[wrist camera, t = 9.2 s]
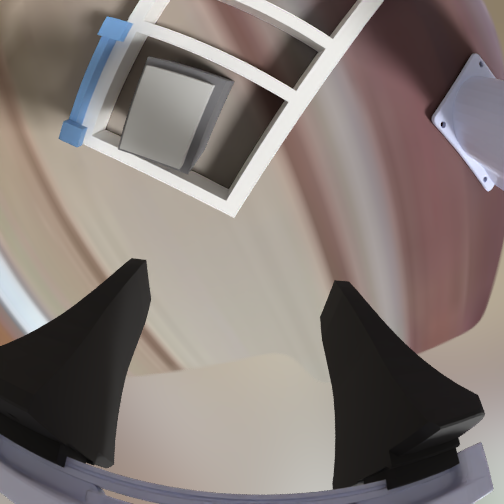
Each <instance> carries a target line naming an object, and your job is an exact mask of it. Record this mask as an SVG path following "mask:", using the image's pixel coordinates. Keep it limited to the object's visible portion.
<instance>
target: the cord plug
mask: <svg viewBox="0 0 504 504" xmlns="http://www.w3.org/2000/svg"><path fill="white" fill-rule="evenodd" d="M234 82H235V81H232V80H229V79H227V78H224V77H221V76H218V75H215V74H213V73H210V72H207V71H204V70H201V69H198V68H195V67H191V66H188V65H185V64H182V63H178V62H174V61H169V60H165V59H159V58H154V57H149V56H148V58H147V61H146V63H145V66H144V68H143V71H142V74H141V76H140V79H139V82H138V84H137V87H136V90H135V93H134V96H133V99H132V102H131V105H130V108H129V111H128V115H127V118H126V121H125V125H124V128H123V132H122V135H121V139H120V143H119V146H118V150H121V151H124V152H127V153H130V154H133V155H136V156H138V157H141V158H144V159H147V160H150V161H153V162H155V163H158V164H161V165H164V166H167V167H169V168H172V169H175V170H177V171H180V172H183V173H186V174H189V172H190V171H191V169H192V168H193V166H194V165H195V163H196V162H197V160H198V159H199V157H200V156H201V154H202V153H203V151H204V150H205V148H206V145H207V143H208V140H209V138H210V135H211V133H212V131H213V128H214V126H215V124H216V121H217V119H218V117H219V114H220V112H221V110H222V108H223V105H224V103H225V101H226V99H227V97H228V94H229V92H230V90H231V88H232V86H233V84H234Z"/></svg>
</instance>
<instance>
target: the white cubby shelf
mask: <svg viewBox="0 0 504 504" xmlns="http://www.w3.org/2000/svg"><path fill="white" fill-rule="evenodd" d="M169 1H170V0H140V1H139V2H138V4H137V5H136V7H135V9H134V10H133V12H132V14H131V15H130V17H129V19H128V21H123V20H119V19H116V18H112V17H108V16H107V17H106V19H105V21H104V23H103V24H102V26H101V28H100V30H99V32H98V34H97V35H100V36H102V37H101V39H100V41H99V43H98V45H97V47H96V50H95V52H94V54H93V56H92V58H91V61H90V63H89V65H88V68H87V70H86V72H85V75H84V77H83V80H82V83H81V85H80V88H79V91H78V93H77V96H76V99H75V102H74V105H73V108H72V111H71V114H70V117H69V120H66V121H64V122H63V125H62V129H61V132H60V136H59V139H60V140H62V141H64V142H66V143H69V144H71V145H73V146H75V147H79V146H81V145H82V144H84V145H86V146H88V147H90V148H92V149H95V150H97V151H99V152H101V153H103V154H105V155H107V156H109V157H112V158H114V159H116V160H118V161H120V162H122V163H124V164H126V165H128V166H130V167H133V168H135V169H137V170H139V171H141V172H143V173H145V174H147V175H149V176H151V177H153V178H155V179H157V180H159V181H161V182H163V183H165V184H167V185H170V186H172V187H174V188H176V189H178V190H180V191H182V192H184V193H186V194H188V195H190V196H192V197H194V198H196V199H198V200H200V201H202V202H204V203H206V204H208V205H210V206H212V207H214V208H216V209H218V210H220V211H222V212H223V213H225V214H227V215H229V216H231V217H233V218H234V217H235V216H236V214H237V212H238V211H239V209H240V208H241V206H242V204H243V203H244V201H245V200H246V198H247V197H248V195H249V193H250V192H251V190H252V189H253V187H254V186H255V184H256V183H257V181H258V179H259V178H260V176H261V175H262V173H263V172H264V170H265V169H266V167H267V166H268V164H269V162H270V161H271V159H272V158H273V156H274V155H275V153H276V152H277V150H278V149H279V147H280V146H281V144H282V143H283V141H284V140H285V138H286V137H287V135H288V134H289V132H290V131H291V129H292V128H293V126H294V125H295V123H296V122H297V120H298V119H299V117H300V116H301V114H302V113H303V112H304V110H305V109H306V107H307V106H308V104H309V103H310V101H311V100H312V98H313V97H314V96H315V94H316V93H317V91H318V90H319V88H320V87H321V85H322V84H323V83H324V81H325V80H326V78H327V77H328V76H329V74H330V73H331V71H332V70H333V68H334V67H335V66H336V64H337V63H338V61H339V60H340V59H341V57H342V56H343V55H344V53H345V52H346V50H347V49H348V48H349V46H350V45H351V44H352V42H353V41H354V39H355V38H356V37H357V35H358V34H359V33H360V31H361V30H362V29H363V27H364V26H365V25H366V23H367V22H368V21H369V19H370V18H371V17H372V15H373V14H374V13H375V11H376V10H377V9H378V8H379V6H380V5H381V4H382V2H383V1H384V0H357V1H356V3H355V4H354V5H353V6H352V8H351V9H350V10H349V11H348V13H347V14H346V15H345V17H344V18H343V19H342V21H341V22H340V23H339V25H338V26H337V27H336V29H335V30H334V31H333V33H332V34H331V35H330V37H329V36H328V35H326V34H324V33H323V32H321V31H320V30H318V29H317V28H315V27H313V26H312V25H310V24H308V23H307V22H305V21H303V20H301V19H300V18H298V17H296V16H294V15H293V14H291V13H289V12H287V11H285V10H283V9H281V8H279V7H278V6H276V5H274V4H272V3H270V2H267V1H265V0H218V1H220V2H223V3H225V4H228V5H230V6H233V7H235V8H237V9H240V10H242V11H244V12H246V13H248V14H251V15H253V16H255V17H257V18H259V19H261V20H263V21H265V22H267V23H269V24H271V25H273V26H275V27H277V28H278V29H280V30H282V31H284V32H286V33H288V34H289V35H291V36H293V37H295V38H296V39H298V40H300V41H301V42H303V43H305V44H306V45H308V46H310V47H311V48H313V49H314V50H316V51H317V52H318V53H317V55H316V56H315V57H314V59H313V60H312V62H311V63H310V64H309V66H308V67H307V69H306V70H305V72H304V73H303V74H302V76H301V77H300V79H299V80H298V82H297V83H296V85H295V86H294V87H293V89H292V88H290V87H289V86H287V85H285V84H284V83H282V82H280V81H279V80H277V79H275V78H273V77H272V76H270V75H268V74H266V73H264V72H263V71H261V70H259V69H257V68H255V67H253V66H251V65H250V64H248V63H246V62H244V61H242V60H240V59H238V58H236V57H234V56H232V55H229V54H227V53H225V52H223V51H221V50H219V49H217V48H214V47H212V46H210V45H208V44H205V43H203V42H201V41H198V40H196V39H193V38H191V37H188V36H186V35H183V34H181V33H178V32H175V31H172V30H170V29H167V28H164V27H161V26H158V25H155V23H156V22H157V20H158V18H159V17H160V15H161V13H162V12H163V10H164V9H165V7H166V6H167V4H168V3H169ZM148 36H150V37H153V38H156V39H159V40H161V41H164V42H167V43H169V44H172V45H175V46H177V47H180V48H182V49H185V50H187V51H189V52H192V53H194V54H196V55H199V56H201V57H203V58H206V59H208V60H210V61H212V62H214V63H216V64H219V65H221V66H223V67H225V68H227V69H229V70H231V71H233V72H235V73H237V74H239V75H241V76H243V77H245V78H247V79H249V80H250V81H252V82H254V83H256V84H258V85H260V86H261V87H263V88H265V89H267V90H269V91H270V92H272V93H274V94H276V95H277V96H279V97H281V98H282V99H284V100H285V101H284V102H283V104H282V105H281V107H280V108H279V110H278V111H277V113H276V114H275V116H274V118H273V119H272V121H271V122H270V124H269V125H268V127H267V128H266V130H265V131H264V133H263V135H262V136H261V138H260V139H259V141H258V142H257V144H256V146H255V147H254V149H253V150H252V152H251V154H250V155H249V157H248V158H247V160H246V162H245V163H244V165H243V167H242V168H241V170H240V171H239V173H238V175H237V176H236V178H235V180H234V181H233V183H232V185H231V186H230V188H229V189H227V188H225V187H223V186H221V185H219V184H218V183H216V182H214V181H212V180H210V179H208V178H206V177H204V176H202V175H200V174H198V173H196V172H194V171H192V170H191V171H190V172H189V174H186V173H183V172H180V171H177V170H175V169H172V168H169V167H167V166H164V165H161V164H158V163H155V162H153V161H150V160H147V159H144V158H141V157H138V156H136V155H133V154H130V153H127V152H124V151H121V150H118V146H119V143H120V139H121V136H119V135H117V134H114V133H112V132H110V131H108V130H105V129H106V126H107V123H108V121H109V118H110V116H111V113H112V110H113V108H114V105H115V103H116V101H117V98H118V96H119V94H120V91H121V89H122V87H123V84H124V82H125V80H126V78H127V76H128V74H129V72H130V69H131V67H132V65H133V63H134V61H135V59H136V57H137V55H138V54H139V52H140V50H141V48H142V46H143V44H144V42H145V41H146V39H147V37H148Z"/></svg>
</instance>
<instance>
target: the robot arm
mask: <svg viewBox="0 0 504 504" xmlns="http://www.w3.org/2000/svg"><path fill="white" fill-rule="evenodd" d="M479 62H480V65H479ZM432 122H433V124H434V125H435V126H436V127H437V128H438V130H439V131H440V132H441V133H442V134H443V135H444V136H445V138H446V139H447V140H448V141H449V142H450V143H451V145H452V146H453V147H454V148H455V150H456V151H457V152H458V153H459V155H460V156H461V157H462V158H463V160H464V161H465V162H466V164H467V165H468V166H469V168H470V169H471V170H472V172H473V173H474V174H475V176H476V177H477V179H478V180H479V181H480V183H481V184H482V186H483V187H484V189H485V190H487V191H490V190H491V189H492V188H493V186H494V185H496V186H498V187H499V188H500V189H502V190H503V191H504V80H499V79H496V78H495V77H494V75H493V74H492V72H491V71H490V70H489V68H488V67H487V65H486V64H485V63H484V61H483V60H482V59H481V57H480V56H479V55H478V54H472V55H471V56H470V58H469V59H468V61H467V63H466V64H465V66H464V68H463V69H462V71H461V73H460V74H459V76H458V77H457V79H456V81H455V82H454V84H453V85H452V87H451V88H450V90H449V91H448V93H447V95H446V96H445V98H444V99H443V101H442V102H441V104H440V105H439V107H438V108H437V110H436V111H435V113H434V114H433V116H432ZM441 122H443V126H442V127H441ZM483 179H484V180H483ZM150 302H151V295H150V288H149V280H148V272H147V263H146V260H141V259H133V258H131V259H130V260H129V261H128V262H126V263H125V264H124V265H123V266H122V267H120V268H119V269H118V270H117V271H116V272H115V273H114V274H112V275H111V276H110V277H109V278H108V279H106V280H105V281H104V282H103V283H102V284H101V285H99V286H98V287H97V288H96V289H95V290H93V291H92V292H91V293H90V294H88V295H87V296H86V297H84V298H83V299H82V300H81V301H79V302H78V303H77V304H76V305H74V306H73V307H71V308H70V309H69V310H67V311H66V312H64V313H63V314H61V315H60V316H58V317H57V318H55V319H54V320H52V321H50V322H49V323H47V324H45V325H43V326H42V327H40V328H38V329H36V330H35V331H33V332H31V333H29V334H27V335H25V336H23V337H21V338H19V339H17V340H14V341H12V342H10V343H7V344H5V345H2V346H0V492H1V493H2V494H3V495H4V496H5V497H7V498H8V499H9V500H11V501H12V502H13V503H15V504H132V503H129V502H125V501H122V500H118V499H115V498H112V497H109V496H106V495H105V493H104V491H103V490H102V489H101V488H103V489H106V490H109V491H112V492H116V493H119V494H122V495H126V496H129V497H133V498H137V499H141V500H145V501H149V502H154V503H159V504H474V503H475V502H477V501H478V500H480V499H481V498H483V497H484V496H486V495H487V494H489V493H490V492H492V491H493V484H492V480H491V476H490V472H489V467H488V464H487V460H486V456H485V452H484V449H483V445H482V443H481V442H479V443H477V444H475V445H473V446H471V447H468V448H466V449H464V450H463V451H460V452H458V453H457V451H456V447H458V446H459V445H460V443H459V439H458V437H460V436H461V435H463V434H464V433H465V432H466V431H468V430H470V429H471V428H472V427H473V426H475V425H476V424H477V423H479V422H480V421H481V420H482V419H483V417H484V415H485V413H484V410H483V407H482V404H481V401H480V399H479V396H478V395H477V394H474V393H473V392H471V391H469V390H467V389H465V388H464V387H462V386H460V385H458V384H457V383H455V382H453V381H452V380H450V379H449V378H447V377H446V376H444V375H443V374H441V373H440V372H438V371H437V370H436V369H434V368H433V367H432V366H431V365H429V364H428V363H427V362H425V361H424V360H423V359H422V358H420V357H419V356H418V355H417V354H416V353H415V352H414V351H413V350H411V349H410V348H409V347H408V346H407V345H406V344H405V343H404V342H403V341H402V340H401V339H400V338H399V337H398V336H397V335H396V334H395V333H394V332H393V331H392V330H391V329H390V328H389V327H388V326H387V324H386V323H385V322H384V321H383V320H382V319H381V318H380V317H379V316H378V314H377V313H376V312H375V311H374V310H373V309H372V307H371V306H370V305H369V304H368V303H367V302H366V300H365V299H364V298H363V297H362V296H361V295H360V293H359V292H358V291H357V290H356V289H355V288H354V287H353V285H352V284H351V283H350V282H347V281H336V280H335V281H334V283H333V286H332V289H331V291H330V294H329V296H328V299H327V301H326V304H325V306H324V309H323V311H322V314H321V316H320V321H321V333H322V341H323V346H324V351H325V356H326V360H327V365H328V369H329V374H330V379H331V384H332V390H333V396H334V410H335V435H336V436H335V438H336V439H335V464H334V477H333V490H327V491H319V492H309V493H297V494H276V495H247V494H246V495H245V494H226V493H213V492H203V491H195V490H188V489H181V488H175V487H169V486H164V485H159V484H154V483H149V482H145V481H141V480H137V479H133V478H128V477H125V476H122V475H118V474H115V473H111V472H108V471H105V470H102V469H99V468H96V467H93V466H90V465H88V464H86V463H89V464H92V465H98V466H101V467H104V468H109V467H111V466H112V465H114V452H115V437H116V428H117V420H118V413H119V407H120V402H121V396H122V391H123V387H124V382H125V377H126V374H127V371H128V367H129V365H130V362H131V359H132V356H133V354H134V351H135V348H136V346H137V343H138V340H139V338H140V335H141V332H142V330H143V327H144V325H145V322H146V318H147V314H148V310H149V306H150Z"/></svg>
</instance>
